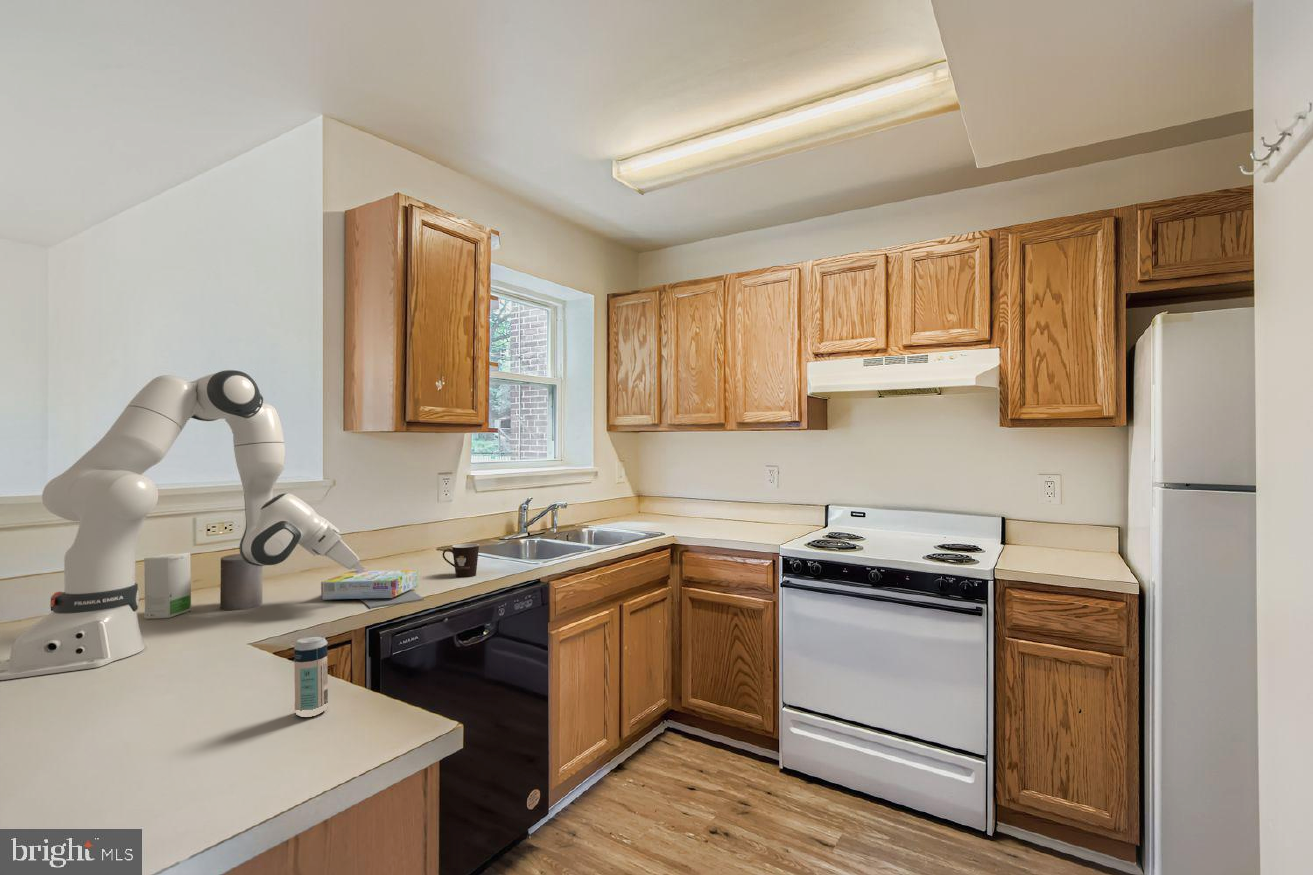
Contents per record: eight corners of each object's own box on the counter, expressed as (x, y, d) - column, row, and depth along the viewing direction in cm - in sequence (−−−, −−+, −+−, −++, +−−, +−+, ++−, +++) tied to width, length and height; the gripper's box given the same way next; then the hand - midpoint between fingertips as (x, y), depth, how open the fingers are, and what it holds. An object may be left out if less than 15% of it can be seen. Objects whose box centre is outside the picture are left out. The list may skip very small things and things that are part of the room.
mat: (370, 608, 163) (370, 606, 163) (356, 596, 177) (356, 594, 177) (423, 599, 172) (423, 598, 172) (407, 588, 185) (407, 587, 185)
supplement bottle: (321, 704, 103) (320, 632, 103) (333, 711, 99) (332, 637, 100) (289, 714, 99) (288, 639, 99) (301, 722, 96) (300, 645, 96)
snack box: (392, 600, 169) (418, 586, 184) (391, 580, 169) (418, 568, 184) (320, 600, 172) (352, 587, 187) (319, 581, 172) (351, 569, 187)
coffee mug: (485, 574, 204) (484, 544, 205) (464, 579, 197) (464, 548, 197) (461, 570, 211) (461, 541, 211) (440, 575, 203) (440, 545, 203)
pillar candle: (212, 607, 166) (212, 552, 166) (250, 599, 175) (250, 547, 175) (232, 612, 162) (232, 555, 162) (270, 603, 170) (270, 549, 170)
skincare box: (168, 618, 156) (167, 557, 156) (142, 619, 156) (141, 558, 156) (192, 610, 164) (192, 552, 164) (168, 610, 164) (167, 552, 164)
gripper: (306, 543, 171) (345, 573, 177) (318, 553, 155) (360, 585, 161) (324, 525, 174) (362, 555, 180) (337, 533, 158) (378, 566, 163)
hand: (361, 570), depth 170 cm, fingers closed
